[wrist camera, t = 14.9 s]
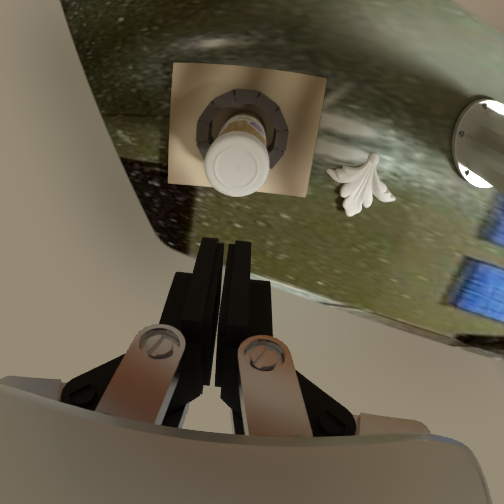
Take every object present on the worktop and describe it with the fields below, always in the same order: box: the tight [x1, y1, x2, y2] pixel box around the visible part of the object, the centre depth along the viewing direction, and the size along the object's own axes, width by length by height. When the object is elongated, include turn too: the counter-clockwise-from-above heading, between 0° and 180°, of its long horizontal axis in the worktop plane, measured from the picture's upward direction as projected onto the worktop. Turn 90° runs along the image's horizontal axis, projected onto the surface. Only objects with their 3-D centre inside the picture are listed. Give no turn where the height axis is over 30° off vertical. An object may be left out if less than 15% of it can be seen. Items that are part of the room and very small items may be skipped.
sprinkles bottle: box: [204, 110, 269, 197], centre depth 27 cm, size 5×5×13 cm
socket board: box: [168, 63, 327, 197], centre depth 32 cm, size 16×14×4 cm
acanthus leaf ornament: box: [326, 153, 395, 216], centre depth 37 cm, size 8×7×2 cm
